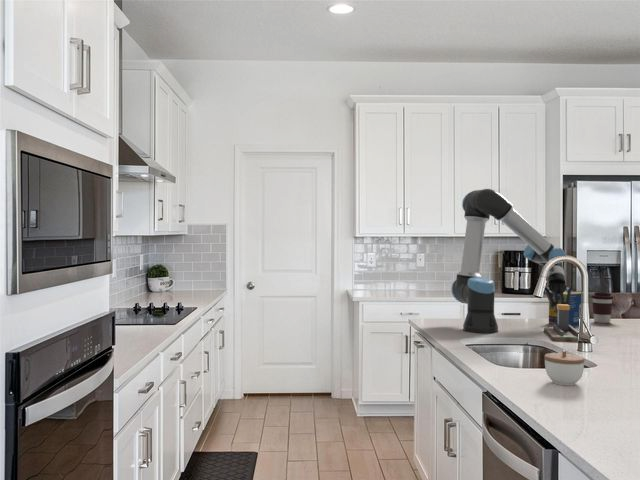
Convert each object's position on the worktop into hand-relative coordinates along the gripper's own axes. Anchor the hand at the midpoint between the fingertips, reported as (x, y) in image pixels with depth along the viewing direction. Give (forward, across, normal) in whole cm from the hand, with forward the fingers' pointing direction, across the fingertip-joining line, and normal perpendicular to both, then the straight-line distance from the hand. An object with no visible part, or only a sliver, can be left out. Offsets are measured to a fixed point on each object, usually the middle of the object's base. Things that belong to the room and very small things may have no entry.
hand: (561, 317), depth 259 cm
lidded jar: (+74, +14, +64) cm, 99 cm away
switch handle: (+7, 0, +1) cm, 7 cm away
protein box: (-14, -7, -24) cm, 28 cm away
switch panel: (+13, 0, +4) cm, 14 cm away
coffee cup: (-22, -25, -31) cm, 45 cm away
